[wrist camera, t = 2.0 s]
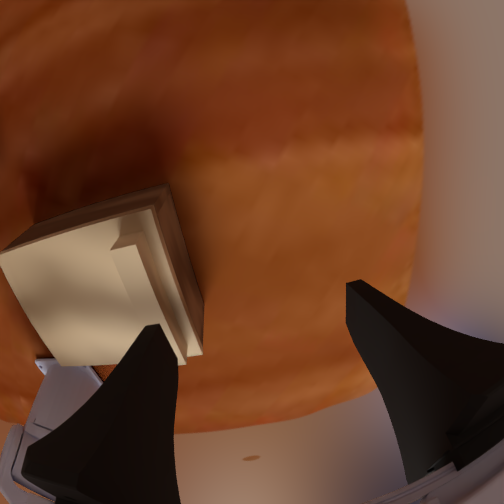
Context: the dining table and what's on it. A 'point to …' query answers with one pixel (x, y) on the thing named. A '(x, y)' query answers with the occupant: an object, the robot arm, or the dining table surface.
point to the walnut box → (168, 224)
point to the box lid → (101, 289)
